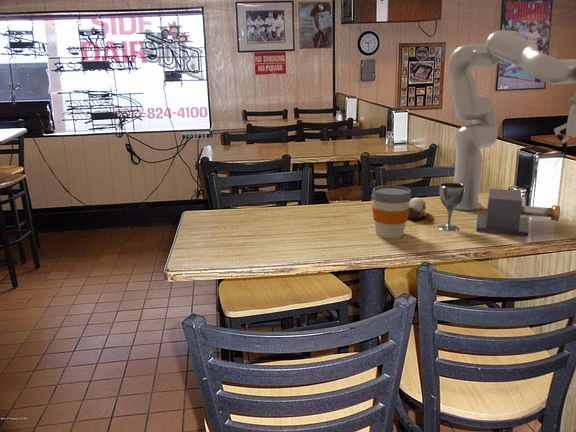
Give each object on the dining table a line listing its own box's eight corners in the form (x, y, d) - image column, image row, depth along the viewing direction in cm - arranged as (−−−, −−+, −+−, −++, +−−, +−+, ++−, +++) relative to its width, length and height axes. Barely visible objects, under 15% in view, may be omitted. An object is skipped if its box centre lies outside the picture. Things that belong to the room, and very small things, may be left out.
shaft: (506, 218, 182) (507, 203, 180) (505, 213, 186) (507, 199, 185) (558, 222, 177) (560, 208, 175) (556, 218, 181) (558, 204, 180)
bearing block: (476, 231, 181) (479, 198, 178) (477, 217, 195) (480, 187, 192) (528, 236, 176) (532, 202, 172) (525, 222, 190) (529, 190, 187)
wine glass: (462, 225, 187) (466, 183, 182) (458, 232, 180) (463, 189, 175) (438, 223, 190) (442, 181, 185) (434, 229, 183) (438, 186, 179)
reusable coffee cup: (363, 230, 182) (364, 187, 178) (394, 226, 187) (397, 183, 182) (383, 242, 171) (386, 196, 167) (416, 237, 176) (419, 192, 171)
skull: (406, 207, 205) (425, 191, 198) (423, 229, 202) (443, 213, 196) (390, 214, 196) (409, 196, 189) (408, 236, 193) (428, 219, 187)
